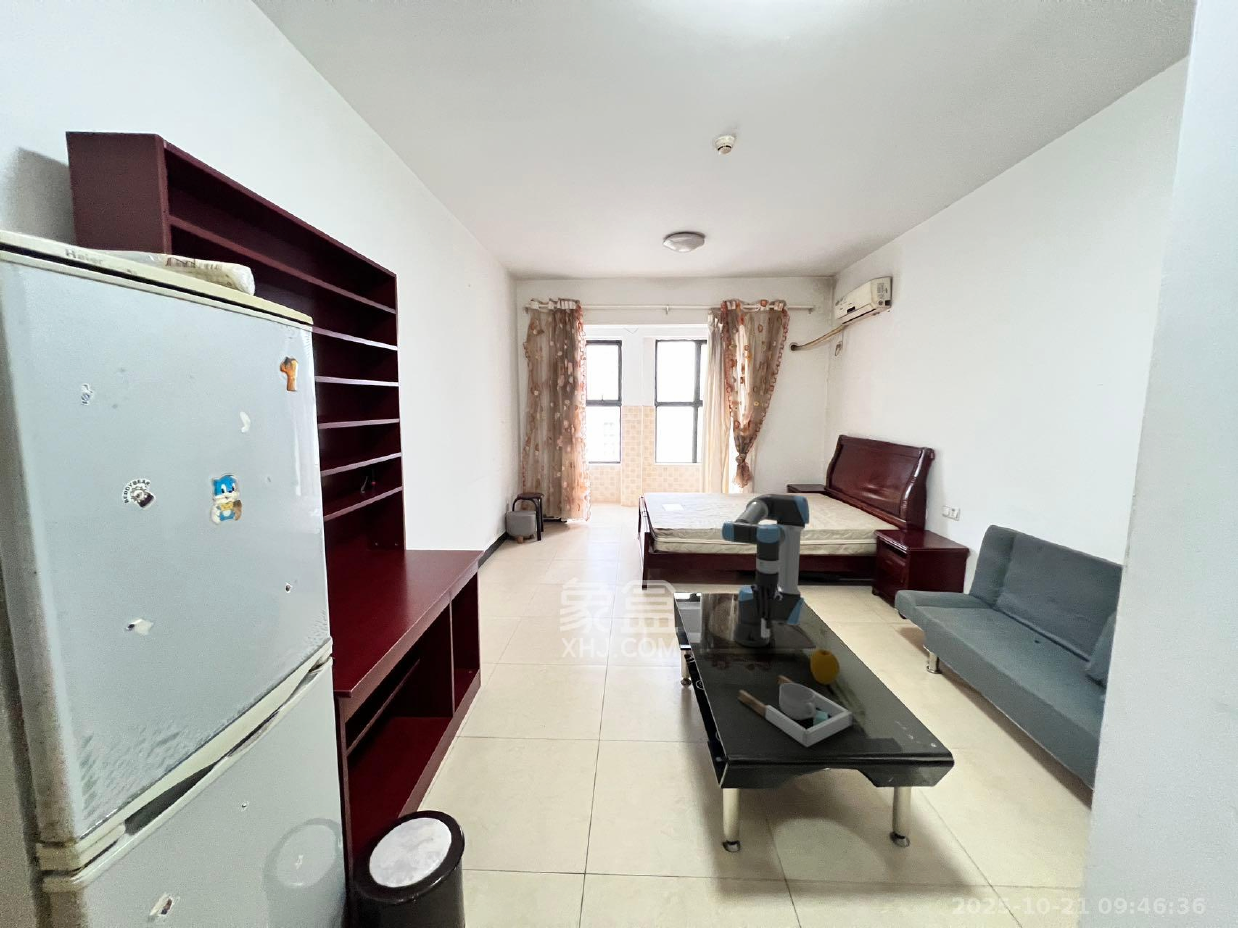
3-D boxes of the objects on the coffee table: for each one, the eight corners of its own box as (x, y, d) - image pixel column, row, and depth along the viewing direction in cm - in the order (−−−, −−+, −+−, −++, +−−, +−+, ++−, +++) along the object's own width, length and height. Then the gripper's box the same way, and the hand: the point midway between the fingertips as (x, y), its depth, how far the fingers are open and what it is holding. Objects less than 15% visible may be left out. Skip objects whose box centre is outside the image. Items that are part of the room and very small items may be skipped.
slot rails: (738, 699, 159) (738, 690, 158) (781, 682, 169) (781, 675, 169) (765, 718, 148) (765, 709, 148) (809, 699, 159) (809, 691, 158)
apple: (842, 681, 170) (844, 650, 169) (832, 692, 163) (833, 660, 162) (816, 671, 177) (817, 642, 176) (805, 681, 170) (806, 650, 169)
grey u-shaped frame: (765, 718, 148) (766, 706, 148) (809, 699, 159) (809, 688, 158) (806, 747, 135) (807, 734, 134) (851, 724, 145) (852, 712, 145)
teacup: (773, 705, 155) (773, 682, 155) (804, 703, 156) (805, 680, 156) (792, 732, 142) (793, 707, 141) (826, 730, 142) (827, 705, 142)
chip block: (813, 728, 143) (813, 716, 143) (813, 721, 147) (813, 709, 147) (827, 732, 142) (827, 719, 141) (827, 724, 145) (827, 712, 145)
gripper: (745, 566, 163) (743, 631, 165) (774, 577, 152) (772, 646, 154) (760, 563, 167) (758, 626, 169) (790, 573, 156) (788, 641, 158)
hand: (765, 636), depth 162 cm, fingers closed
